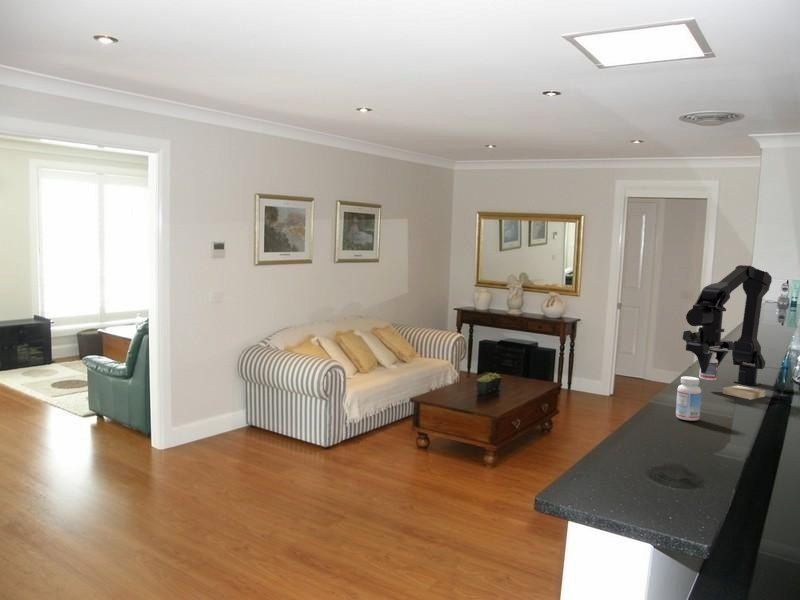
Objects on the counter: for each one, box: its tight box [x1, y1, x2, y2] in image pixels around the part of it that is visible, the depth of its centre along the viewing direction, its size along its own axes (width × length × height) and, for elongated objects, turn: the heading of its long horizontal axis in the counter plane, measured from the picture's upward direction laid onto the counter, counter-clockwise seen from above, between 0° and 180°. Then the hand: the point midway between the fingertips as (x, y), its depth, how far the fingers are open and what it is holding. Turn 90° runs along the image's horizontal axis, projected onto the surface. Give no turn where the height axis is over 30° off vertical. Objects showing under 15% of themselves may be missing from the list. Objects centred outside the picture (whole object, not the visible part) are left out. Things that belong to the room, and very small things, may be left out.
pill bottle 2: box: [698, 351, 719, 381], centre depth 210 cm, size 5×5×9 cm
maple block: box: [722, 385, 766, 401], centre depth 206 cm, size 9×9×2 cm
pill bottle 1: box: [675, 375, 702, 422], centre depth 175 cm, size 6×6×11 cm
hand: (708, 371), depth 210 cm, fingers closed on pill bottle 2, 5 cm apart
